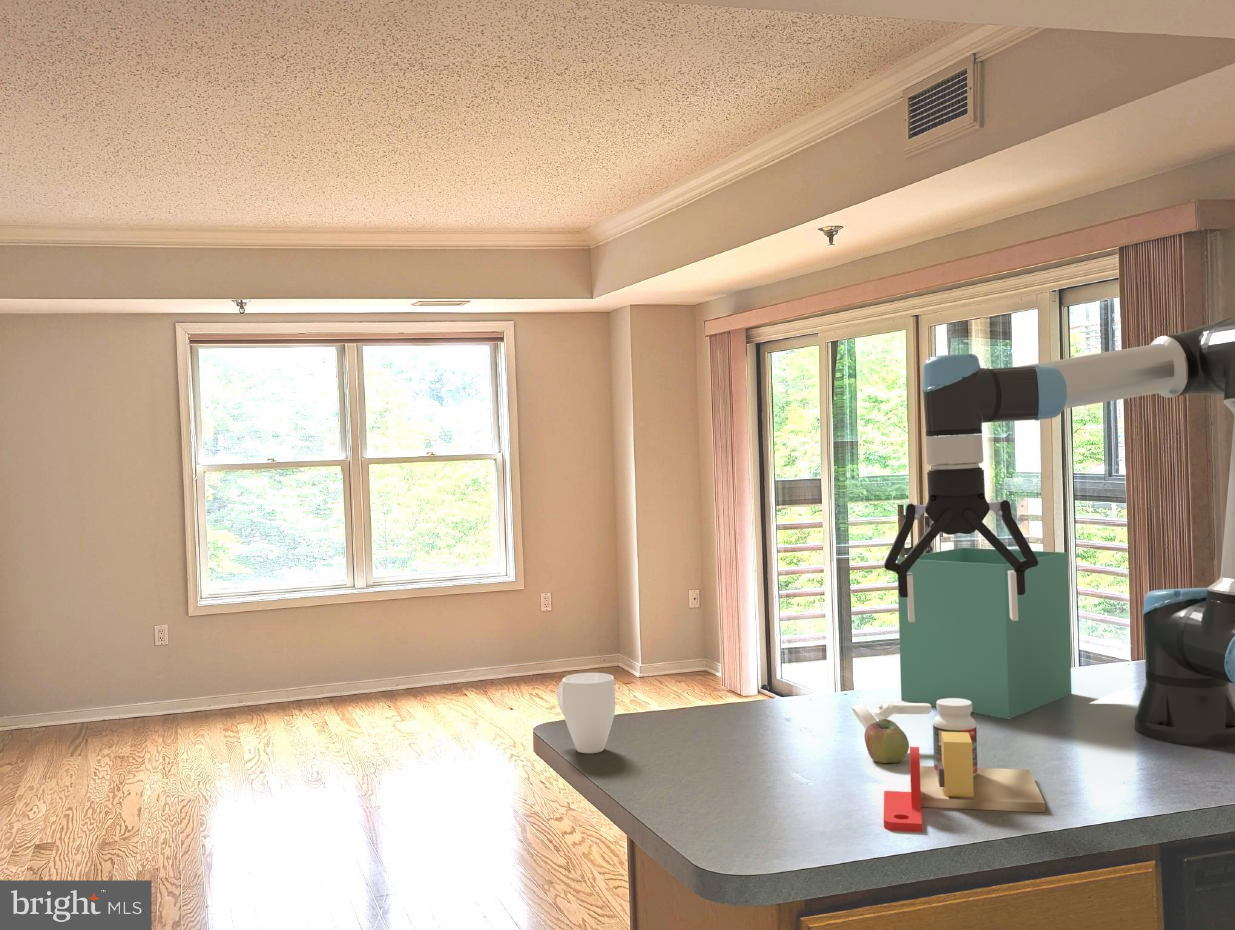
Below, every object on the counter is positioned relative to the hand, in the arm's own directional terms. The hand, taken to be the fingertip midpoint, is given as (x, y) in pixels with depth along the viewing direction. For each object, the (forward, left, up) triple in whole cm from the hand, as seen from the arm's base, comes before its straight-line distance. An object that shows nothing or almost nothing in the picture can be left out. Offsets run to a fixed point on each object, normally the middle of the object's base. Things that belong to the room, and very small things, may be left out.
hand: (962, 620), depth 149 cm
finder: (0, +10, -17) cm, 20 cm away
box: (-7, -49, -22) cm, 54 cm away
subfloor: (-1, +6, -22) cm, 23 cm away
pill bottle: (+2, +2, -21) cm, 21 cm away
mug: (+58, -9, -22) cm, 62 cm away
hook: (+10, -14, -22) cm, 28 cm away
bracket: (+9, +16, -22) cm, 29 cm away
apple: (+11, -8, -22) cm, 26 cm away
